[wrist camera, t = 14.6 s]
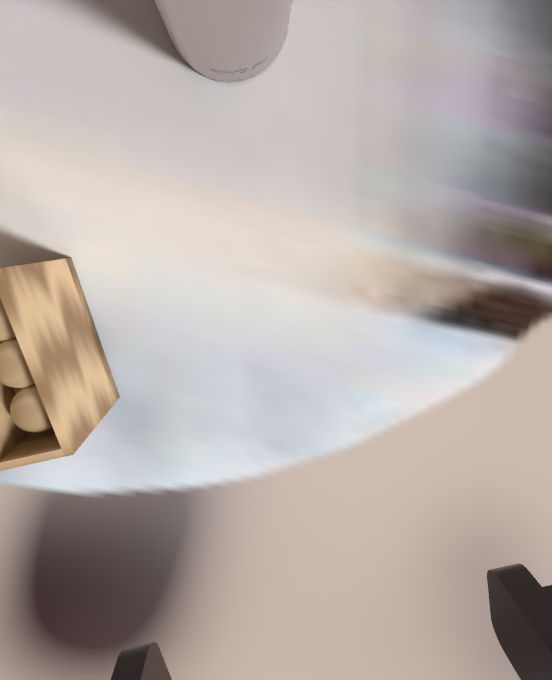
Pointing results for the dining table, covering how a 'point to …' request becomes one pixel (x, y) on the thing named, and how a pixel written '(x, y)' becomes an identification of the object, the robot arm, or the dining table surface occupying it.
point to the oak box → (48, 364)
